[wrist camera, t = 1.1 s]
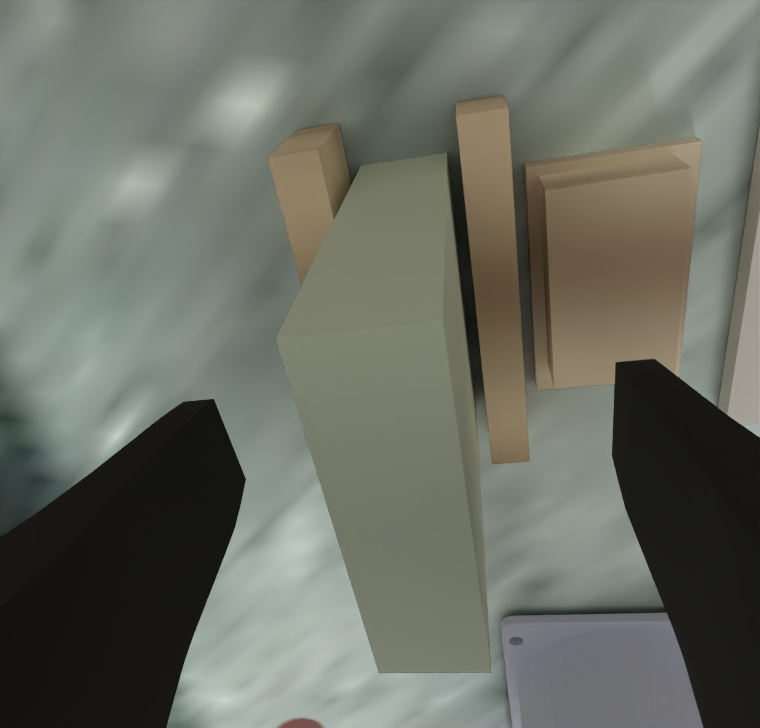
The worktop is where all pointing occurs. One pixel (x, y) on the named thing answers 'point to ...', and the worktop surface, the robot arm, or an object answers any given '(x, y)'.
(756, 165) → the mat
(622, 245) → the offcut upper
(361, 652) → the worktop surface
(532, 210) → the offcut lower
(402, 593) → the block
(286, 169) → the rack
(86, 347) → the worktop surface
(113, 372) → the worktop surface
